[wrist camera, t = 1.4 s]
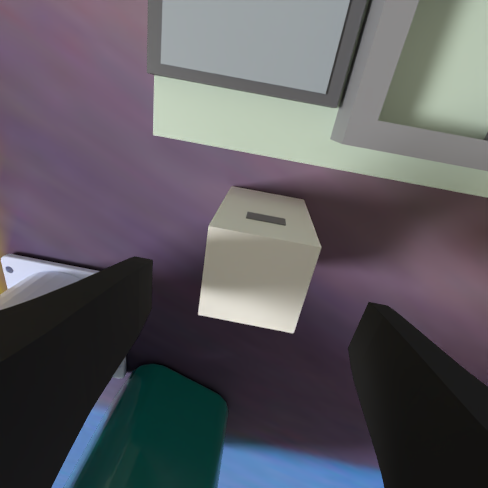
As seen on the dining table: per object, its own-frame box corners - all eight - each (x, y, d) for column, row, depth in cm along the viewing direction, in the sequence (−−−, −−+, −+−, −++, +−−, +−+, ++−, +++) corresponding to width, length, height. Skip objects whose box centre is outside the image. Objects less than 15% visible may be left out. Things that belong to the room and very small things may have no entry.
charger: (286, 262, 17) (293, 333, 11) (221, 250, 17) (198, 314, 11) (303, 198, 15) (321, 246, 10) (231, 185, 15) (208, 224, 10)
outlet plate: (508, 198, 14) (575, 222, 11) (160, 133, 14) (130, 138, 11) (672, -74, 10) (857, -162, 7) (170, -163, 10) (124, -287, 7)
